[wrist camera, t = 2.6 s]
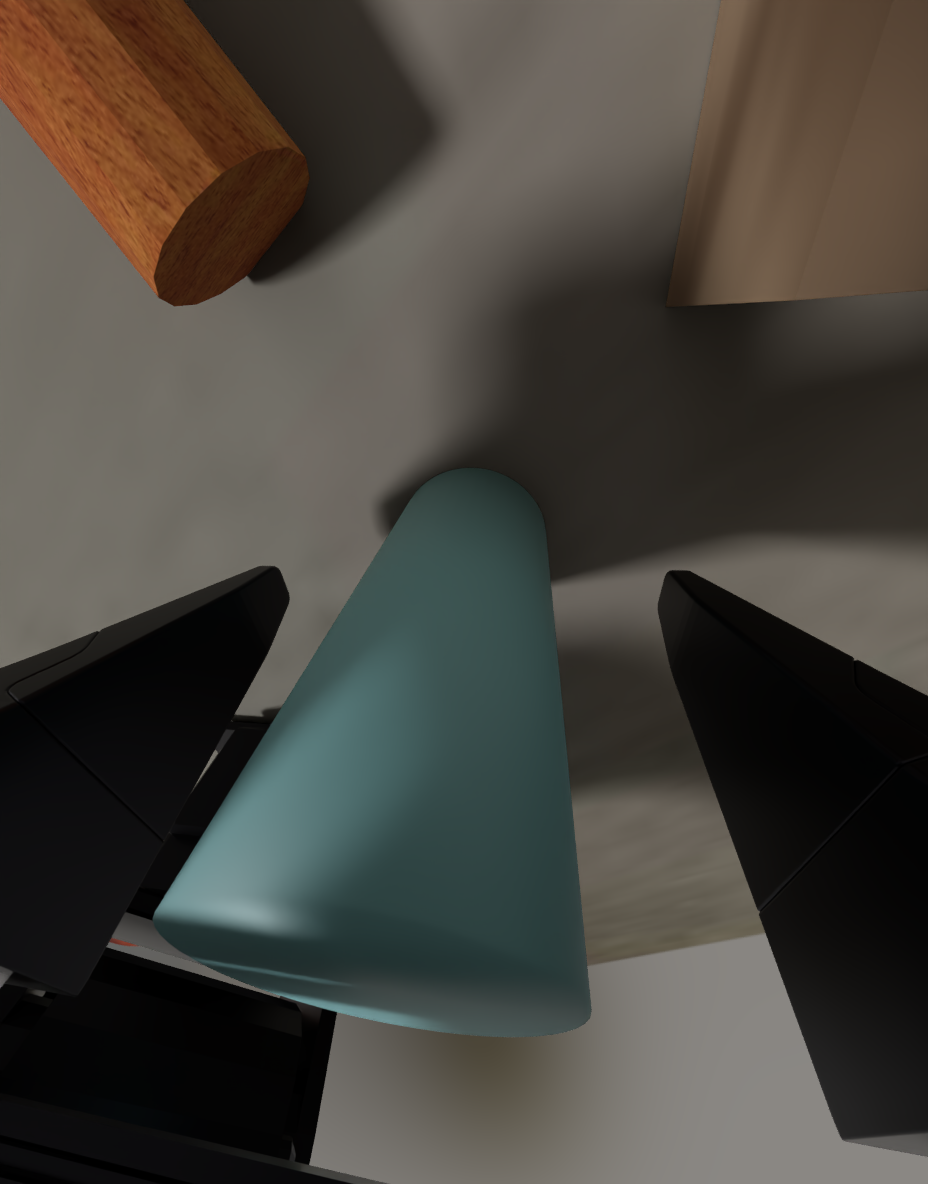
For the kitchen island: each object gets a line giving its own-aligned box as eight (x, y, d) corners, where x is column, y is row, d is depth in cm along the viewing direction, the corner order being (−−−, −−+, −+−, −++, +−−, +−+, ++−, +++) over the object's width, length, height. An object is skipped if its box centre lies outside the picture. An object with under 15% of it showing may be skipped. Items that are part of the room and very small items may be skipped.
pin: (542, 599, 12) (569, 1055, 5) (412, 596, 12) (252, 999, 5) (550, 465, 10) (630, 942, 2) (391, 469, 10) (48, 864, 3)
